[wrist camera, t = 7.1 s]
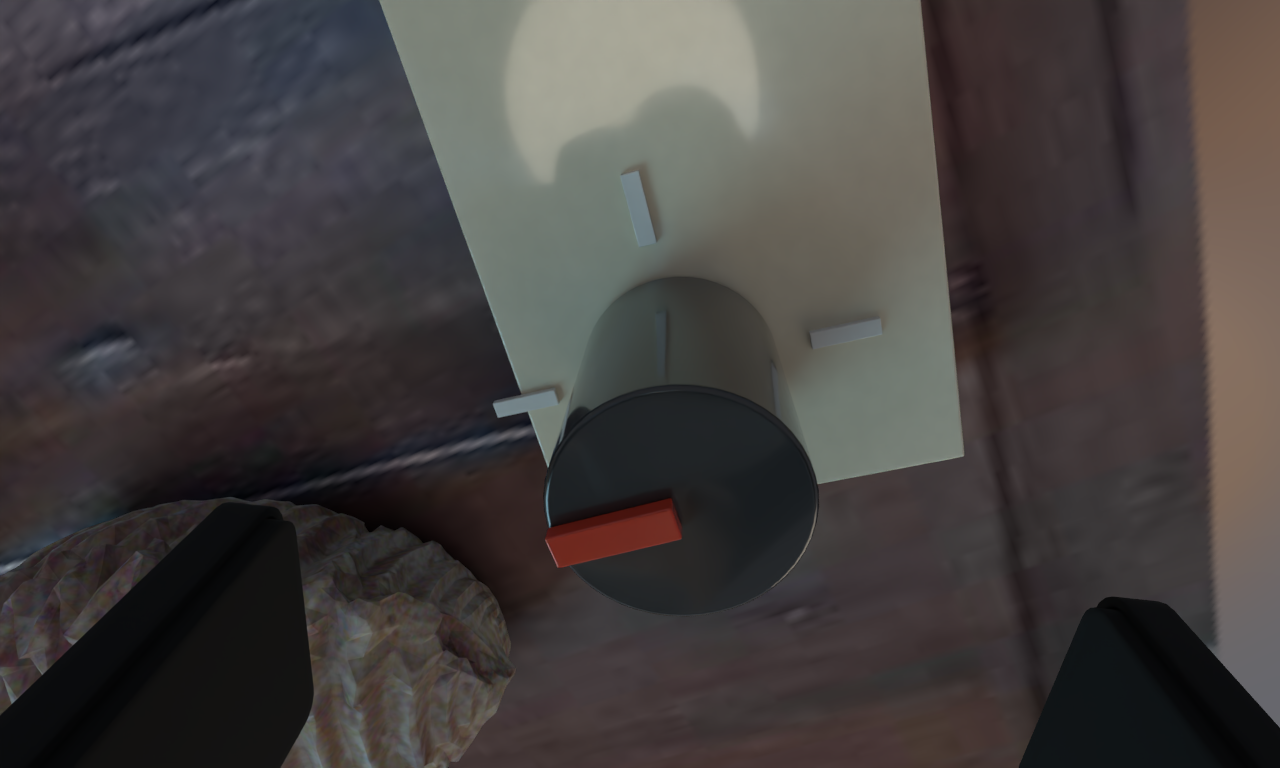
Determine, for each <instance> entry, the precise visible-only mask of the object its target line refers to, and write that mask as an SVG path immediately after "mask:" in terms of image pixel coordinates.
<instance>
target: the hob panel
mask: <svg viewBox="0 0 1280 768" xmlns="http://www.w3.org/2000/svg"><path fill="white" fill-rule="evenodd" d="M379 1H380V4H381V7H382V9H383V12H384V15H385V18H386V21H387V23H388V26H389V29H390V32H391V34H392V37H393V40H394V43H395V46H396V48H397V51H398V54H399V57H400V59H401V62H402V65H403V68H404V70H405V73H406V76H407V79H408V82H409V84H410V87H411V90H412V93H413V95H414V98H415V101H416V104H417V107H418V109H419V112H420V115H421V118H422V120H423V123H424V126H425V129H426V131H427V134H428V137H429V140H430V143H431V145H432V148H433V151H434V154H435V156H436V159H437V162H438V165H439V168H440V170H441V173H442V176H443V179H444V181H445V184H446V187H447V190H448V192H449V195H450V198H451V201H452V204H453V206H454V209H455V212H456V215H457V217H458V220H459V223H460V226H461V229H462V231H463V234H464V237H465V240H466V242H467V245H468V248H469V251H470V253H471V256H472V259H473V262H474V265H475V267H476V270H477V273H478V276H479V278H480V281H481V284H482V287H483V290H484V292H485V295H486V298H487V301H488V303H489V306H490V309H491V312H492V314H493V317H494V320H495V323H496V326H497V328H498V331H499V334H500V337H501V339H502V342H503V345H504V348H505V351H506V353H507V356H508V359H509V362H510V364H511V367H512V370H513V373H514V375H515V378H516V381H517V384H518V387H519V389H520V392H521V395H518V396H513V397H509V398H504V399H500V400H495V401H494V402H493V406H494V409H495V411H496V414H497V416H498V418H499V417H504V416H509V415H513V414H518V413H522V412H528V414H529V417H530V420H531V423H532V425H533V428H534V431H535V434H536V436H537V439H538V442H539V445H540V448H541V450H542V453H543V456H544V459H545V461H546V464H547V467H548V466H549V463H550V460H551V457H552V454H553V450H554V447H555V444H556V441H557V438H558V435H559V431H560V428H561V425H562V422H563V419H564V416H565V412H566V409H567V406H568V403H569V400H570V397H571V394H572V390H573V387H574V384H575V381H576V378H577V375H578V371H579V368H580V365H581V362H582V359H583V356H584V353H585V349H586V346H587V343H588V340H589V337H590V335H591V333H592V330H593V328H594V326H595V324H596V323H597V321H598V319H599V318H600V316H601V315H602V314H603V313H604V312H605V310H606V309H607V308H608V307H609V306H610V305H611V304H612V303H613V302H614V301H615V300H616V299H618V298H619V297H620V296H622V295H623V294H625V293H626V292H627V291H629V290H631V289H633V288H635V287H637V286H639V285H642V284H644V283H647V282H650V281H653V280H657V279H662V278H668V277H694V278H701V279H706V280H709V281H713V282H716V283H719V284H721V285H723V286H726V287H728V288H730V289H731V290H733V291H735V292H736V293H738V294H740V295H741V296H742V297H744V298H745V299H746V300H747V301H749V302H750V303H751V304H752V305H753V306H754V307H755V308H756V310H757V311H758V312H759V313H760V314H761V316H762V317H763V319H764V320H765V321H766V323H767V325H768V327H769V329H770V331H771V333H772V336H773V339H774V342H775V345H776V348H777V351H778V354H779V357H780V361H781V364H782V367H783V370H784V374H785V377H786V380H787V383H788V387H789V390H790V393H791V396H792V399H793V403H794V406H795V409H796V412H797V416H798V419H799V422H800V425H801V429H802V432H803V435H804V438H805V442H806V445H807V448H808V451H809V454H810V458H811V461H812V464H813V467H814V471H815V474H816V479H817V484H821V483H827V482H832V481H837V480H842V479H848V478H853V477H858V476H864V475H869V474H874V473H879V472H885V471H890V470H895V469H901V468H906V467H911V466H917V465H922V464H927V463H932V462H938V461H943V460H948V459H954V458H959V457H963V456H964V453H965V452H964V441H963V431H962V421H961V410H960V400H959V390H958V379H957V369H956V359H955V348H954V338H953V328H952V317H951V307H950V297H949V286H948V276H947V266H946V255H945V245H944V235H943V224H942V214H941V204H940V193H939V183H938V173H937V162H936V152H935V142H934V131H933V121H932V111H931V100H930V90H929V79H928V69H927V59H926V48H925V38H924V28H923V17H922V7H921V0H379Z"/></svg>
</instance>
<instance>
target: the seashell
mask: <svg viewBox="0 0 1280 768" xmlns="http://www.w3.org/2000/svg"><path fill="white" fill-rule="evenodd" d="M226 502H234V503H243V504H253V505H262V506H271V507H275V508H277V509H279V511H280V512H281V514H282V517H283V520H284V521H290V522H292V523H293V524H294V526H295V529H296V535H297V543H298V552H299V561H300V570H301V579H302V588H303V596H304V605H305V614H306V623H307V632H308V641H309V649H310V658H311V667H312V676H313V685H314V698H313V704H312V708H311V711H310V714H309V717H308V719H307V721H306V723H305V725H304V727H303V729H302V731H301V732H300V734H299V736H298V738H297V740H296V741H295V743H294V745H293V747H292V748H291V750H290V752H289V754H288V755H287V757H286V759H285V761H284V763H283V764H282V766H281V768H448V766H449V763H450V761H453V762H458V761H459V760H460V758H461V757H462V755H463V754H464V753H465V751H466V750H467V748H468V747H469V745H470V744H471V743H472V741H473V740H474V738H475V737H476V735H477V734H478V732H479V730H480V729H481V727H482V726H483V724H484V723H485V722H486V721H487V720H488V719H489V718H491V717H492V716H493V715H494V714H495V713H496V712H497V709H498V707H499V704H500V701H501V699H502V696H503V694H504V691H505V688H506V686H507V684H508V683H509V682H510V681H511V679H512V678H513V676H514V674H515V671H516V667H515V666H514V665H513V664H512V663H511V662H510V660H509V659H508V658H509V653H510V647H511V642H510V639H509V635H508V631H507V627H506V623H505V620H504V617H503V615H502V612H501V610H500V607H499V605H498V602H497V600H496V598H495V597H494V595H493V594H492V592H491V591H490V589H489V588H488V587H487V586H486V585H484V584H483V583H481V582H479V581H477V579H476V578H475V577H474V575H473V574H472V573H471V571H470V570H468V569H467V568H466V567H465V566H464V565H462V564H461V563H460V562H459V561H458V560H454V559H453V558H452V557H451V556H450V555H449V554H448V553H447V552H446V551H445V550H444V548H443V547H442V546H441V545H440V544H439V543H437V542H435V541H430V542H426V543H423V542H422V541H421V540H420V539H419V538H418V537H416V536H415V535H413V534H412V533H411V532H409V531H408V530H406V529H405V528H403V527H401V528H399V529H397V530H395V531H394V530H392V529H389V528H387V527H384V526H381V525H380V526H379V527H378V528H377V529H375V530H374V531H373V532H368V530H367V529H366V527H365V526H364V524H365V523H364V522H362V521H361V520H359V519H357V518H355V517H352V516H349V515H346V514H343V513H340V514H338V513H336V512H334V511H332V510H329V509H327V508H325V507H322V506H320V505H317V504H310V505H299V506H296V505H295V504H293V503H292V502H290V501H275V500H268V499H262V500H258V501H253V502H250V501H246V500H242V499H238V498H234V497H226V498H219V499H212V500H205V501H196V500H181V501H177V502H172V503H165V504H159V505H156V506H154V507H152V508H145V509H140V510H136V511H132V512H130V513H127V514H125V515H122V516H120V517H117V518H115V519H113V520H110V521H107V522H103V523H100V524H97V525H94V526H91V527H88V528H85V529H82V530H80V531H78V532H76V533H74V534H71V535H69V536H67V537H65V538H63V539H61V540H59V541H56V542H54V543H52V544H50V545H48V546H46V547H44V548H42V549H41V550H39V551H37V552H35V553H34V554H32V555H31V556H30V557H29V558H28V559H26V560H25V561H24V562H23V563H22V564H21V565H20V566H18V567H16V568H14V569H13V570H11V571H9V572H7V573H5V574H3V575H1V576H0V715H1V714H2V713H3V712H4V711H5V710H6V709H7V708H8V707H9V706H10V705H11V704H12V703H13V702H15V701H16V700H17V699H18V698H19V697H20V696H21V695H22V694H23V693H24V692H25V691H26V690H27V689H28V688H29V687H30V686H31V685H32V684H33V683H34V682H35V681H36V680H37V679H38V678H39V677H41V676H42V675H43V674H44V673H45V672H46V671H47V670H48V669H49V668H50V667H51V666H52V665H53V664H54V663H55V662H56V661H57V660H58V659H59V658H60V657H61V656H62V655H63V654H64V653H65V652H67V651H68V650H69V649H70V648H71V647H72V646H73V645H74V644H75V643H76V642H77V641H78V640H79V639H80V638H81V637H82V636H83V635H84V634H85V633H86V632H87V631H88V630H89V629H90V628H91V627H93V626H94V625H95V624H96V623H97V622H98V621H99V620H100V619H101V618H102V617H103V616H104V615H105V614H106V613H107V612H108V611H109V610H110V609H111V608H112V607H113V606H114V605H115V604H116V603H117V602H119V601H120V600H121V599H122V598H123V597H124V596H125V595H126V594H127V593H128V592H129V591H130V590H131V589H132V588H133V587H134V586H135V585H136V584H137V583H138V582H139V581H140V580H141V579H142V578H143V577H145V576H146V575H147V574H148V573H149V572H150V571H151V570H152V569H153V568H154V567H155V566H156V565H157V564H158V563H159V562H160V561H161V560H162V559H163V558H164V557H165V556H166V555H167V554H168V553H169V552H171V551H172V550H173V549H174V548H175V547H176V546H177V545H178V544H179V543H180V542H181V541H182V540H183V539H184V538H185V537H186V536H187V535H188V534H189V533H190V532H191V531H192V530H193V529H194V528H195V527H196V526H198V525H199V524H200V523H201V522H202V521H203V520H204V519H205V518H206V517H207V516H208V515H209V514H210V513H211V512H212V511H213V510H214V509H215V508H216V507H218V506H219V505H221V504H222V503H226Z"/></svg>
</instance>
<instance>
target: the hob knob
mask: <svg viewBox="0 0 1280 768" xmlns="http://www.w3.org/2000/svg"><path fill="white" fill-rule="evenodd" d="M543 499H544V512H545V517H546V522H547V526H548V529H547V533H546V537H545V541H546V543H547V546H548V548H549V550H550V552H551V554H552V557H553V559H554V561H555V563H556V565H557V567H558V568H562V567H566V566H569V567H570V568H571V569H572V570H573V571H574V572H575V573H576V574H577V575H578V576H579V577H580V578H581V579H582V580H583V581H584V582H586V583H587V584H588V585H589V586H590V587H592V588H593V589H595V590H596V591H598V592H599V593H601V594H602V595H604V596H605V597H607V598H609V599H611V600H613V601H615V602H617V603H619V604H622V605H625V606H627V607H630V608H633V609H636V610H640V611H644V612H648V613H652V614H659V615H666V616H701V615H707V614H713V613H718V612H722V611H726V610H729V609H733V608H735V607H738V606H741V605H743V604H746V603H748V602H750V601H752V600H754V599H756V598H758V597H760V596H761V595H763V594H764V593H766V592H767V591H769V590H770V589H772V588H773V587H775V586H776V585H777V584H778V583H779V582H780V581H781V580H783V579H784V578H785V577H786V576H787V575H788V574H789V573H790V572H791V570H792V569H793V568H794V567H795V566H796V565H797V563H798V562H799V560H800V559H801V557H802V556H803V554H804V553H805V551H806V549H807V547H808V544H809V542H810V540H811V538H812V536H813V533H814V529H815V526H816V523H817V517H818V510H819V489H818V484H817V479H816V474H815V471H814V467H813V464H812V461H811V458H810V454H809V451H808V448H807V445H806V442H805V438H804V435H803V432H802V429H801V425H800V422H799V419H798V416H797V412H796V409H795V406H794V403H793V399H792V396H791V393H790V390H789V387H788V383H787V380H786V377H785V374H784V370H783V367H782V364H781V361H780V357H779V354H778V351H777V348H776V345H775V342H774V339H773V336H772V333H771V331H770V329H769V327H768V325H767V323H766V321H765V320H764V319H763V317H762V316H761V314H760V313H759V312H758V311H757V310H756V308H755V307H754V306H753V305H752V304H751V303H750V302H749V301H747V300H746V299H745V298H744V297H742V296H741V295H740V294H738V293H736V292H735V291H733V290H731V289H730V288H728V287H726V286H723V285H721V284H719V283H716V282H713V281H709V280H706V279H701V278H694V277H668V278H662V279H657V280H653V281H650V282H647V283H644V284H642V285H639V286H637V287H635V288H633V289H631V290H629V291H627V292H626V293H625V294H623V295H622V296H620V297H619V298H618V299H616V300H615V301H614V302H613V303H612V304H611V305H610V306H609V307H608V308H607V309H606V310H605V312H604V313H603V314H602V315H601V316H600V318H599V319H598V321H597V323H596V324H595V326H594V328H593V330H592V333H591V335H590V337H589V340H588V343H587V346H586V349H585V353H584V356H583V359H582V362H581V365H580V368H579V371H578V375H577V378H576V381H575V384H574V387H573V390H572V394H571V397H570V400H569V403H568V406H567V409H566V412H565V416H564V419H563V422H562V425H561V428H560V431H559V435H558V438H557V441H556V444H555V447H554V450H553V454H552V457H551V460H550V463H549V466H548V470H547V474H546V478H545V484H544V493H543Z"/></svg>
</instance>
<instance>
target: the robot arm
mask: <svg viewBox="0 0 1280 768" xmlns="http://www.w3.org/2000/svg"><path fill="white" fill-rule="evenodd" d="M313 698H314V685H313V676H312V667H311V658H310V649H309V641H308V632H307V623H306V614H305V605H304V596H303V588H302V579H301V570H300V561H299V552H298V543H297V535H296V529H295V526H294V524H293V523H292V522H290V521H284V520H283V517H282V514H281V512H280V511H279V509H277V508H275V507H271V506H262V505H253V504H243V503H234V502H226V503H222V504H221V505H219V506H218V507H216V508H215V509H214V510H213V511H212V512H211V513H210V514H209V515H208V516H207V517H206V518H205V519H204V520H203V521H202V522H201V523H200V524H199V525H198V526H196V527H195V528H194V529H193V530H192V531H191V532H190V533H189V534H188V535H187V536H186V537H185V538H184V539H183V540H182V541H181V542H180V543H179V544H178V545H177V546H176V547H175V548H174V549H173V550H172V551H171V552H169V553H168V554H167V555H166V556H165V557H164V558H163V559H162V560H161V561H160V562H159V563H158V564H157V565H156V566H155V567H154V568H153V569H152V570H151V571H150V572H149V573H148V574H147V575H146V576H145V577H143V578H142V579H141V580H140V581H139V582H138V583H137V584H136V585H135V586H134V587H133V588H132V589H131V590H130V591H129V592H128V593H127V594H126V595H125V596H124V597H123V598H122V599H121V600H120V601H119V602H117V603H116V604H115V605H114V606H113V607H112V608H111V609H110V610H109V611H108V612H107V613H106V614H105V615H104V616H103V617H102V618H101V619H100V620H99V621H98V622H97V623H96V624H95V625H94V626H93V627H91V628H90V629H89V630H88V631H87V632H86V633H85V634H84V635H83V636H82V637H81V638H80V639H79V640H78V641H77V642H76V643H75V644H74V645H73V646H72V647H71V648H70V649H69V650H68V651H67V652H65V653H64V654H63V655H62V656H61V657H60V658H59V659H58V660H57V661H56V662H55V663H54V664H53V665H52V666H51V667H50V668H49V669H48V670H47V671H46V672H45V673H44V674H43V675H42V676H41V677H39V678H38V679H37V680H36V681H35V682H34V683H33V684H32V685H31V686H30V687H29V688H28V689H27V690H26V691H25V692H24V693H23V694H22V695H21V696H20V697H19V698H18V699H17V700H16V701H15V702H13V703H12V704H11V705H10V706H9V707H8V708H7V709H6V710H5V711H4V712H3V713H2V714H1V715H0V768H281V766H282V764H283V763H284V761H285V759H286V757H287V755H288V754H289V752H290V750H291V748H292V747H293V745H294V743H295V741H296V740H297V738H298V736H299V734H300V732H301V731H302V729H303V727H304V725H305V723H306V721H307V719H308V717H309V714H310V711H311V708H312V704H313ZM1019 768H1280V728H1279V726H1278V725H1277V724H1276V723H1275V722H1274V721H1273V720H1272V719H1271V718H1270V716H1268V714H1267V713H1266V712H1265V711H1264V710H1263V709H1262V708H1261V706H1260V705H1259V704H1258V703H1257V702H1256V701H1255V700H1254V699H1253V698H1252V696H1251V695H1250V694H1249V693H1248V692H1247V691H1246V690H1245V689H1244V688H1243V686H1242V685H1241V684H1240V683H1239V682H1238V681H1237V680H1236V679H1235V678H1234V677H1233V675H1232V674H1231V673H1230V672H1229V671H1228V670H1227V669H1226V668H1225V666H1224V665H1223V664H1222V663H1221V662H1220V661H1219V660H1218V659H1217V658H1216V656H1215V655H1214V654H1213V653H1212V652H1211V651H1210V650H1209V649H1208V648H1207V646H1206V645H1205V644H1204V643H1203V642H1202V641H1201V640H1200V639H1199V638H1198V636H1197V635H1196V634H1195V633H1194V632H1193V631H1192V630H1191V629H1190V628H1189V626H1188V625H1187V624H1186V623H1185V622H1184V621H1183V620H1182V619H1181V618H1180V616H1179V615H1178V614H1177V613H1176V612H1175V611H1174V610H1173V609H1172V608H1170V607H1169V606H1168V605H1167V604H1164V603H1161V602H1158V601H1149V600H1139V599H1130V598H1121V597H1107V598H1105V599H1103V600H1102V601H1101V602H1100V603H1099V604H1098V606H1097V608H1090V609H1088V610H1087V611H1086V612H1085V614H1084V615H1083V617H1082V619H1081V621H1080V624H1079V626H1078V628H1077V631H1076V633H1075V635H1074V638H1073V640H1072V643H1071V645H1070V647H1069V650H1068V652H1067V654H1066V657H1065V659H1064V661H1063V664H1062V666H1061V668H1060V671H1059V673H1058V676H1057V678H1056V680H1055V683H1054V685H1053V687H1052V690H1051V692H1050V694H1049V697H1048V699H1047V701H1046V704H1045V706H1044V709H1043V711H1042V713H1041V716H1040V718H1039V720H1038V723H1037V725H1036V727H1035V730H1034V732H1033V734H1032V737H1031V739H1030V742H1029V744H1028V746H1027V749H1026V751H1025V753H1024V756H1023V758H1022V760H1021V763H1020V765H1019Z"/></svg>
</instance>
